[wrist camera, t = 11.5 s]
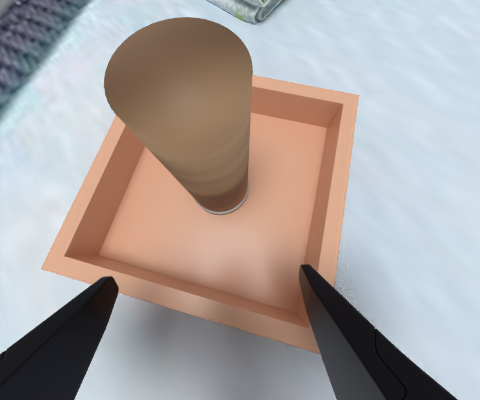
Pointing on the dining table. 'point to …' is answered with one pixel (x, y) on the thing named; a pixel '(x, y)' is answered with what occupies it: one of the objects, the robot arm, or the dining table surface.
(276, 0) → the towel
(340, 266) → the dining table surface
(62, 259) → the bin
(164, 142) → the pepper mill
